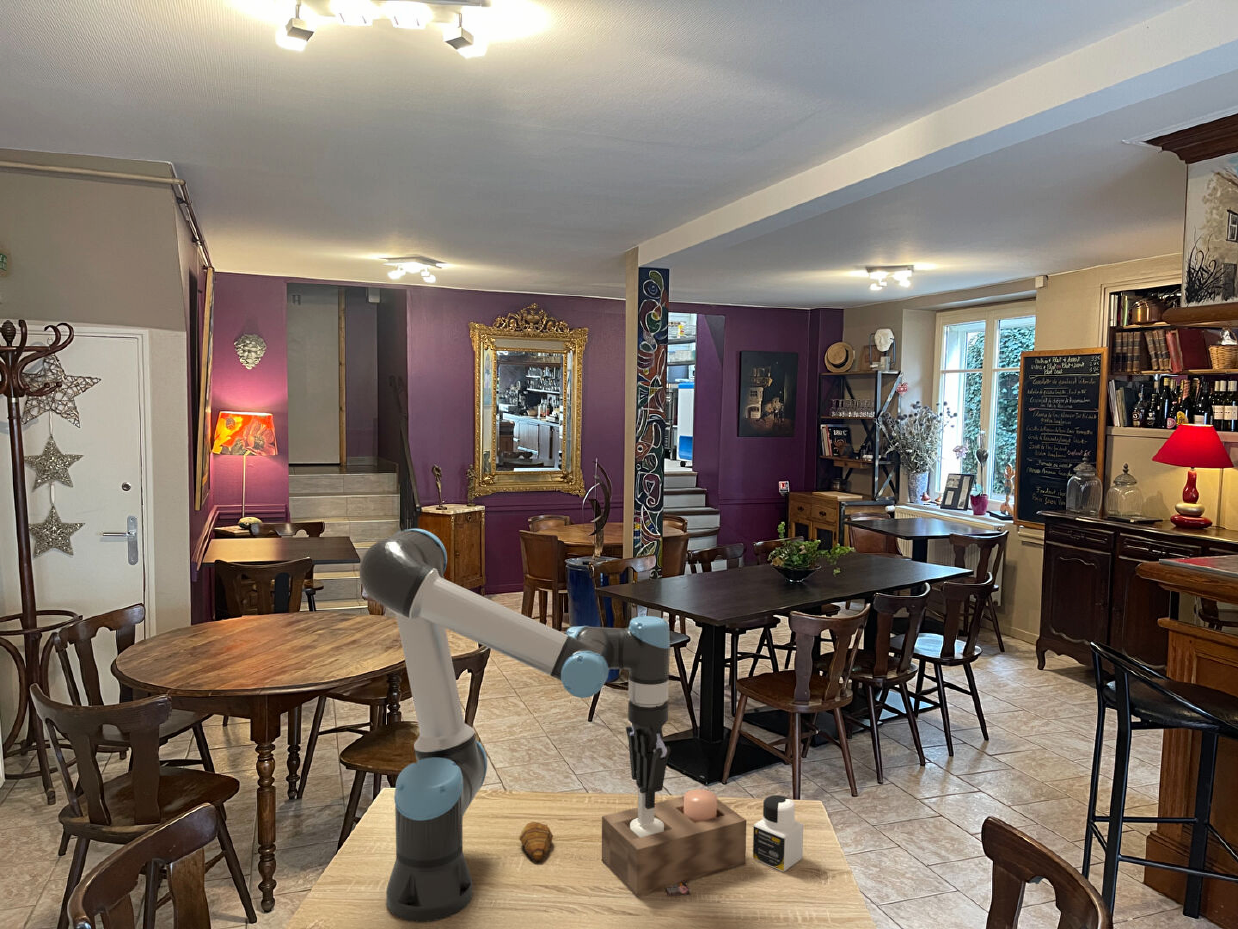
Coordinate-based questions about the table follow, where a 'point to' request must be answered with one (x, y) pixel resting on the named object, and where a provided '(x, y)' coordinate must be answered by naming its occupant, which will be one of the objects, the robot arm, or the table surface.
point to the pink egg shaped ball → (700, 805)
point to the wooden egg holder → (672, 847)
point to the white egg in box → (646, 827)
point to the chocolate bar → (678, 889)
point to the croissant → (536, 840)
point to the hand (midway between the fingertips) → (646, 821)
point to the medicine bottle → (778, 834)
